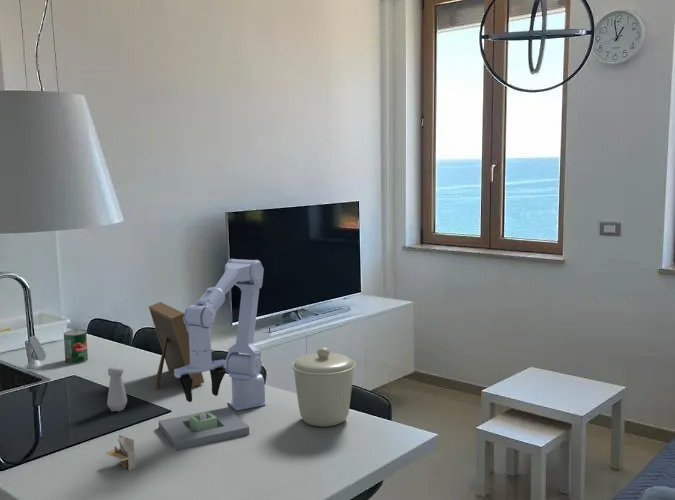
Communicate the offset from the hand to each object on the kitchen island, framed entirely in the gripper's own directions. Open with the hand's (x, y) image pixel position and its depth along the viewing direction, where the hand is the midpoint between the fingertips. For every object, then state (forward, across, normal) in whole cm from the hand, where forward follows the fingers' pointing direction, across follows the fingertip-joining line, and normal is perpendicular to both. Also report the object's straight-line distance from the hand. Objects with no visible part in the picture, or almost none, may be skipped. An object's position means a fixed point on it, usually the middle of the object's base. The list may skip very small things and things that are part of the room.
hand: (202, 397), depth 184 cm
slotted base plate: (+9, 0, 0) cm, 9 cm away
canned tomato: (+10, +8, -90) cm, 91 cm away
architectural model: (+10, +24, +8) cm, 28 cm away
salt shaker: (+10, +13, -31) cm, 35 cm away
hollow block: (+9, 0, 0) cm, 9 cm away
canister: (+10, -30, +14) cm, 35 cm away
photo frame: (+10, -10, -46) cm, 48 cm away
